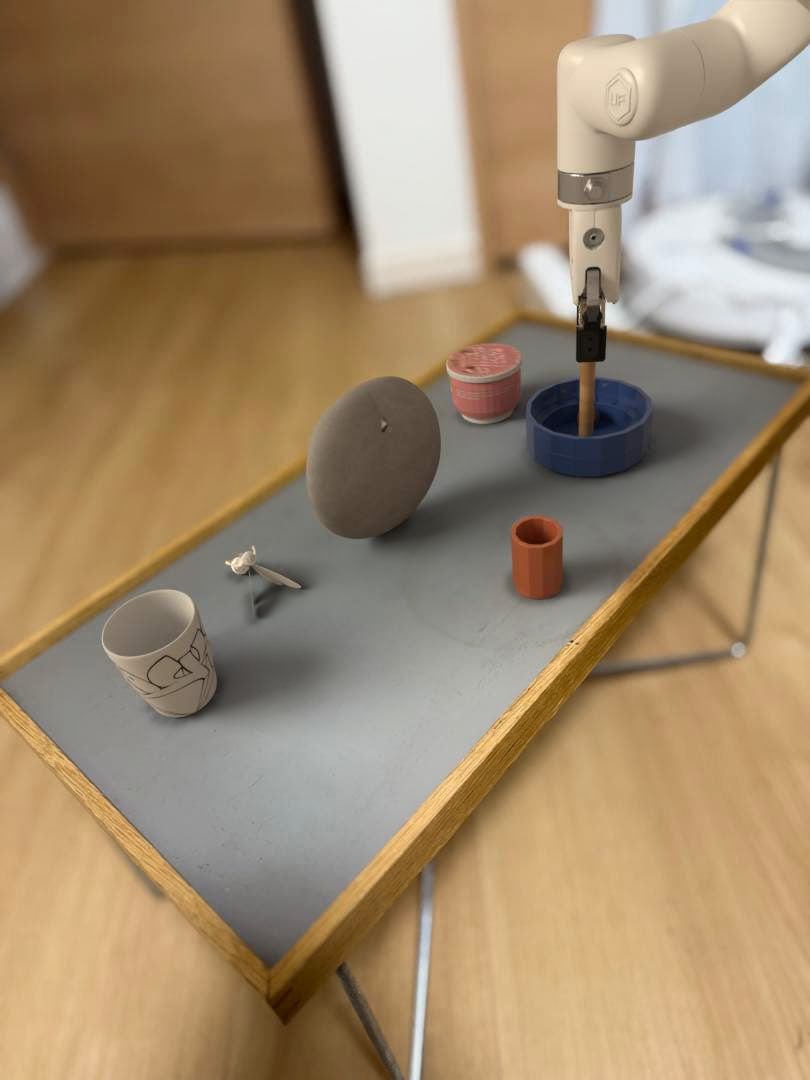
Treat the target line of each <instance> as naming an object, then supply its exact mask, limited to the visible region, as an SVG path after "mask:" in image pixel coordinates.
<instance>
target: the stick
mask: <svg viewBox="0 0 810 1080" xmlns="http://www.w3.org/2000/svg"><path fill="white" fill-rule="evenodd" d="M584 311H587V308H584ZM579 365H580V366H579V378H580V399H579V436H593V424H594V397H595V377H596V366H597V362H584V363H579Z"/></svg>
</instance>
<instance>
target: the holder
mask: <svg viewBox="0 0 810 1080" xmlns="http://www.w3.org/2000/svg"><path fill="white" fill-rule="evenodd" d="M510 546H511V548H510V549H511V550H510V551H511V565H512V566H511V567H512V583H513V586H514V589H515V591H516V592H517V593H519V595H521V596H523V597H524V598H527V599H531V600H545V599H549V598H551V597H553V596H555V595H556V594H558V593H559V592H560V591H561V589H562V587H563V577H564V576H563V573H564V571H563V570H564V569H563V567H564V564H563V559H564V557H563V555H564V551H563V550H564V549H563V548H564V527H563V526H562V525H561V523H560V522H559V521H558V520H557V519H555V518H552V517H550V516H547V515H528V516H525V517H522V518H520V519H518V520H517V521H516V522H515V523H514V524H513V525H512V526H511V529H510Z"/></svg>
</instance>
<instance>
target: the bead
mask: <svg viewBox="0 0 810 1080" xmlns="http://www.w3.org/2000/svg"><path fill="white" fill-rule="evenodd" d="M599 421H600V413H599V411H598V410H597V409H596V408H595V407H594V424H593V428H594V427H595V426H596V425H597V424H598V423H599ZM577 422H578V424H579V412H578V414H577Z"/></svg>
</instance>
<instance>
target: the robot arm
mask: <svg viewBox="0 0 810 1080" xmlns="http://www.w3.org/2000/svg"><path fill="white" fill-rule="evenodd" d="M808 46H810V0H728V1H727V2H726V3H725V4H724V5H723V6H722V7H721V8H720V9H718V10H717V11H716V12H715V13H714V14H712V15H711V16H710V17H708V18H707V19H705V20H703V21H699V22H694V23H690V24H687V25H683V26H679V27H676V28H671V29H668V30H665V31H663V32H659V33H656V34H653V35H649V36H645V37H641V38H636V37H635V36H634V35H631V34H627V33H610V34H602V35H595V36H589V37H585V38H580V39H577V40H575V41H571V42H570V43H567V44H566V45H565V46H564V47H563V48H562V49H561V51H560V53H559V56H558V57H557V58H558V59H557V65H556V121H557V122H556V129H557V130H556V160H557V161H556V164H557V165H556V167H557V168H556V170H557V171H556V190H557V191H556V197H557V199H556V202H557V205H558V207H560V208H562V209H566V210H568V246H569V247H568V249H569V251H568V252H569V255H568V256H569V275H570V285H571V286H570V287H571V296H572V304H573V305H574V306H576V329H575V331H576V333H575V361H576V363H579V364H580V363H584V362H596V363H602V362H604V361H606V358H607V357H606V354H607V335H608V333H607V331H608V326H607V325H606V303H612V305H616V304H617V303H618V302H619V300H620V276H621V275H620V274H621V254H622V235H623V234H622V233H623V232H622V231H623V229H622V228H623V213H622V211H623V209H622V208H623V207H622V205H623V204H626V203H628V202H629V201H630V200H632V198H633V194H634V193H633V191H634V177H635V160H636V144H637V143H636V142H640V141H647V140H650V139H654V138H656V137H659V136H662V135H665V134H668V133H671V132H674V131H676V130H678V129H681V128H683V127H686V126H689V125H692V124H695V123H698V122H701V121H704V120H708V119H710V118H713V117H715V116H718V115H720V114H722V113H724V112H726V111H727V110H729V109H731V108H732V107H734V106H735V105H737V104H738V103H740V101H742V100H744V99H745V98H747V97H748V96H749V95H750V94H751V93H754V91H755V90H757V89H758V88H759V87H760V86H762V85H763V84H764V83H766V82H767V81H768V80H769V79H770V78H772V77H773V76H775V75H776V74H778V72H779V71H781V70H783V68H785V67H786V66H787V65H788V64H789V63H791V62H792V61H793V60H794V59H795V58H796V57H798V56H799V55H800V54H801V53H802V52H803V51H804V50H806V49H807V48H808ZM584 308H587V311H584Z"/></svg>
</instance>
